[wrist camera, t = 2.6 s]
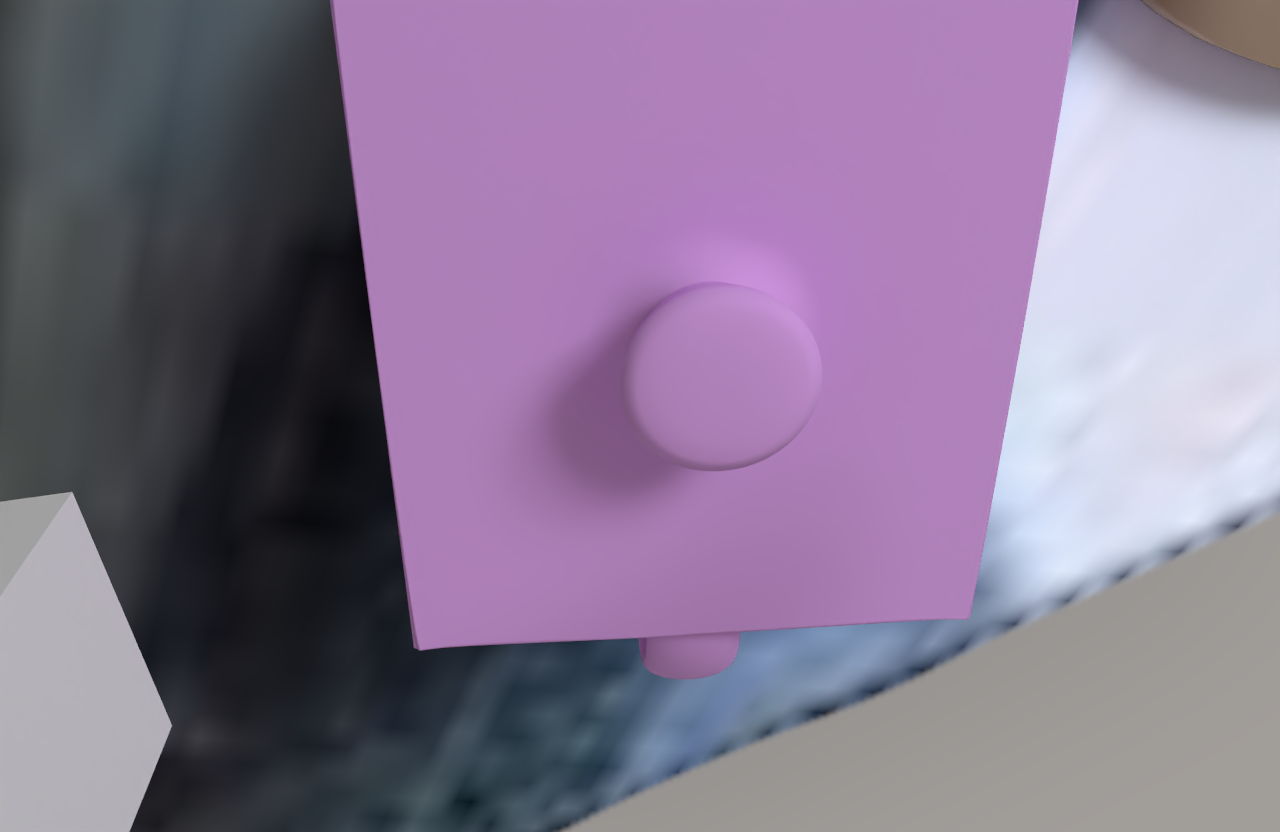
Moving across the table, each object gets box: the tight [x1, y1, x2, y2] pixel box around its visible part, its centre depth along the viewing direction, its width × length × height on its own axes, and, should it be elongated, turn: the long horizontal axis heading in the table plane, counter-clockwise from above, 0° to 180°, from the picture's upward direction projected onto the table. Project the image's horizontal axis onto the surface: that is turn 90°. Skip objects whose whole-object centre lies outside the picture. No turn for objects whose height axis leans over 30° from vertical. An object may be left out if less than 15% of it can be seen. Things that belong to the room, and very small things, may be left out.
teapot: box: [330, 0, 1079, 679], centre depth 20 cm, size 20×10×12 cm, turn 0°
